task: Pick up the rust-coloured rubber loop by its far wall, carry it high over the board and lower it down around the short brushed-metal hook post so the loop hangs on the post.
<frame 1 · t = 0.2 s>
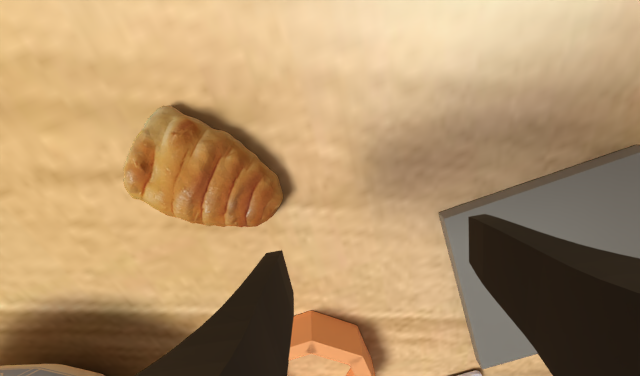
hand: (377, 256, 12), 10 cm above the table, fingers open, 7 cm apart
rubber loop: (310, 359, 27), on the table
pastry: (209, 165, 21), on the table
hook board: (544, 267, 24), on the table
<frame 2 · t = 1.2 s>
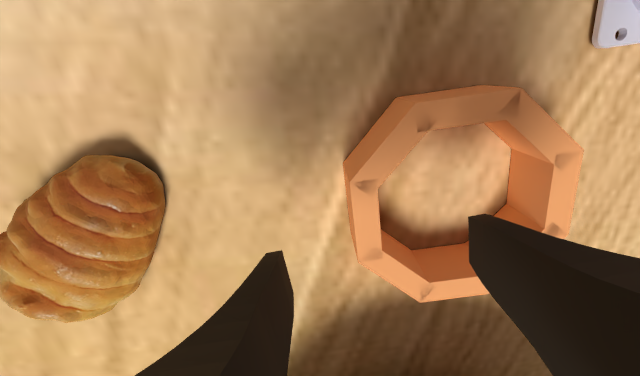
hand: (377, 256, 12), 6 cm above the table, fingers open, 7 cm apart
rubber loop: (438, 186, 17), on the table
pastry: (102, 226, 18), on the table
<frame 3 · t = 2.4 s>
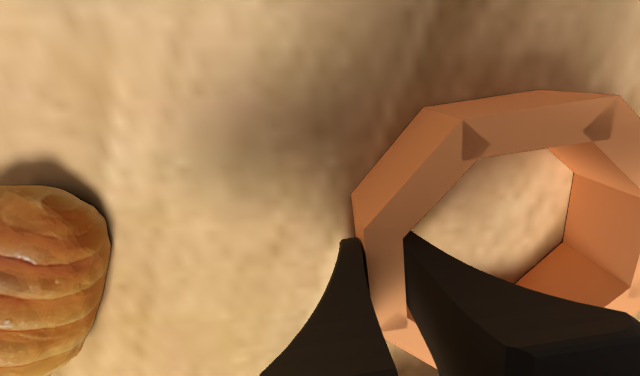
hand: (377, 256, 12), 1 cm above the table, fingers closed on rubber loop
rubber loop: (475, 222, 13), on the table, touching gripper
pastry: (33, 271, 13), on the table
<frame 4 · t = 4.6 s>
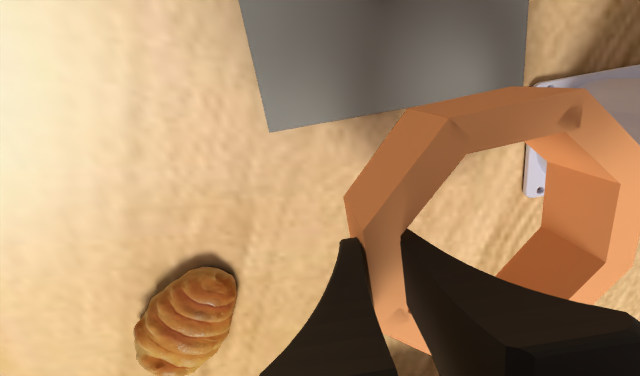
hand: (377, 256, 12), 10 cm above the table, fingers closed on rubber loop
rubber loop: (462, 214, 13), point 8 cm above the table, tilted 6°, touching gripper
pastry: (192, 306, 26), on the table
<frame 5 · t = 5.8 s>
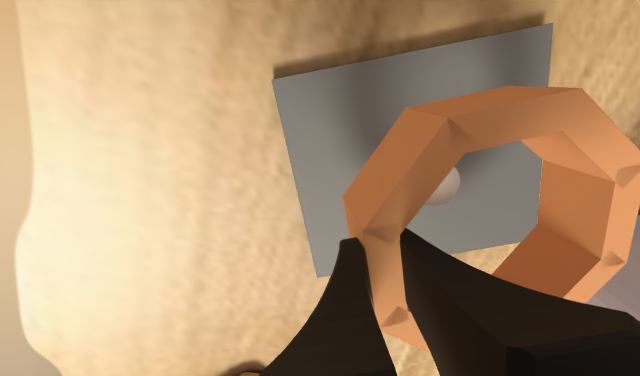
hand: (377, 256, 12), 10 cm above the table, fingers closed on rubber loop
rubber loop: (459, 213, 13), point 7 cm above the table, tilted 7°, touching gripper
hook board: (413, 164, 20), on the table
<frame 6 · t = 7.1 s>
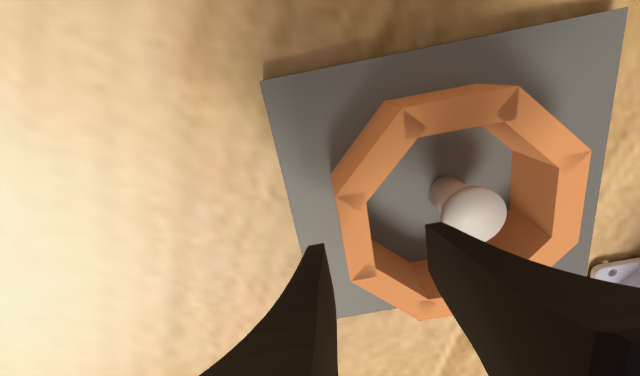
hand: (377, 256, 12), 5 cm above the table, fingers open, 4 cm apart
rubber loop: (434, 194, 16), point 1 cm above the table, touching hook board
hook board: (437, 185, 16), on the table
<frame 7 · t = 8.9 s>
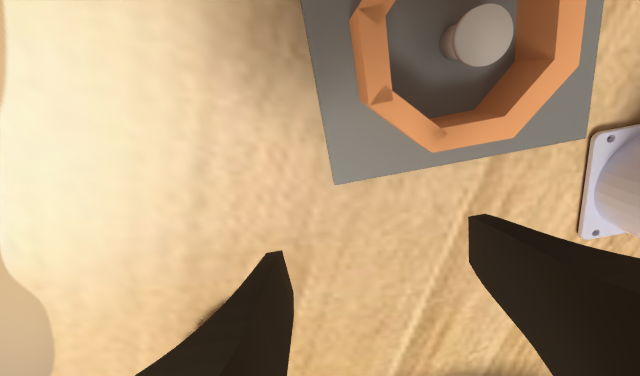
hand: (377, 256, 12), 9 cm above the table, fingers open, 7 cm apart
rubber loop: (445, 44, 17), point 1 cm above the table, touching hook board
hook board: (447, 44, 18), on the table
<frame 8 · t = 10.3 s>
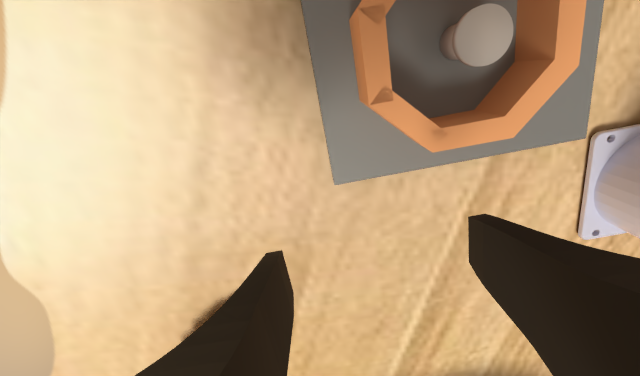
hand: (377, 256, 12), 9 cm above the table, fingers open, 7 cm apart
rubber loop: (445, 44, 17), point 1 cm above the table, touching hook board
hook board: (447, 44, 18), on the table
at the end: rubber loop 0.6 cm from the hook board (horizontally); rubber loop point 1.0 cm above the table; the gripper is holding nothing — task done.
